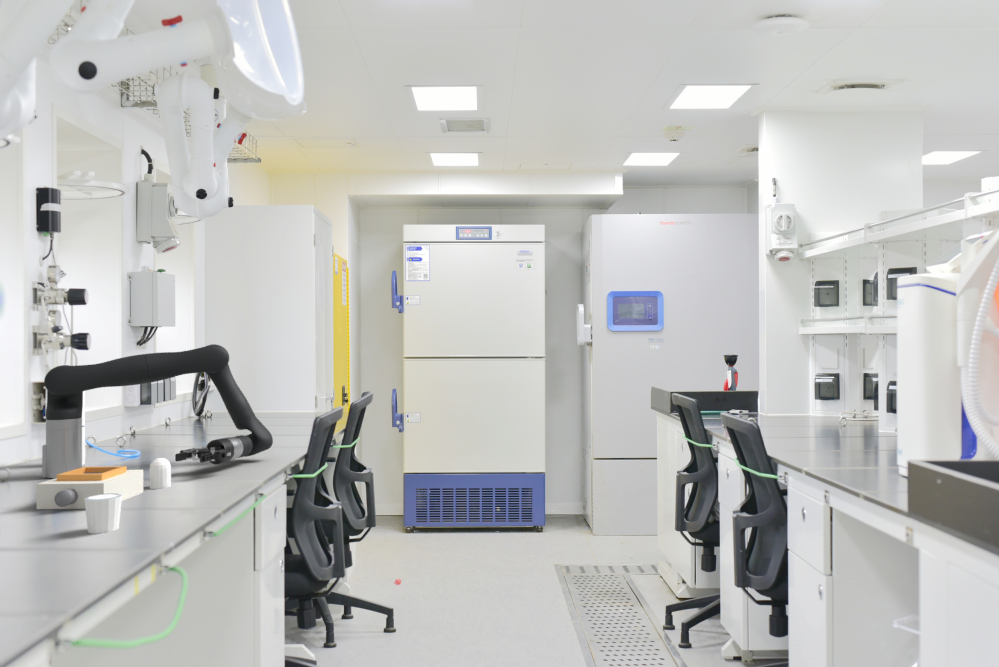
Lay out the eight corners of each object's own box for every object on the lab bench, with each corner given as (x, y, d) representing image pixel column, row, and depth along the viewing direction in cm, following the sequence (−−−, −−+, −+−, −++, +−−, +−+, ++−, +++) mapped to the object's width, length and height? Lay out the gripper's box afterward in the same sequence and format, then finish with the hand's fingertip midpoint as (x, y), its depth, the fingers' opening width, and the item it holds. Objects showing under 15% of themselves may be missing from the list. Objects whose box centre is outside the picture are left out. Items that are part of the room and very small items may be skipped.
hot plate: (27, 512, 160) (27, 480, 160) (82, 493, 181) (82, 464, 181) (96, 511, 160) (96, 479, 160) (143, 492, 181) (143, 463, 181)
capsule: (162, 484, 191) (162, 455, 191) (175, 486, 189) (175, 457, 189) (145, 488, 187) (145, 458, 187) (157, 489, 184) (157, 459, 184)
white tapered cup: (126, 529, 144) (126, 495, 144) (90, 536, 139) (90, 501, 139) (115, 523, 148) (115, 491, 149) (79, 530, 143) (79, 496, 144)
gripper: (205, 437, 216) (167, 444, 200) (244, 438, 212) (209, 446, 197) (205, 461, 216) (168, 470, 200) (244, 462, 212) (209, 472, 196)
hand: (188, 458), depth 198 cm, fingers open, 8 cm apart
